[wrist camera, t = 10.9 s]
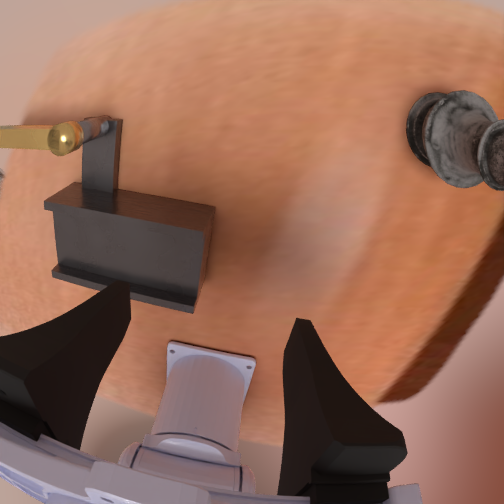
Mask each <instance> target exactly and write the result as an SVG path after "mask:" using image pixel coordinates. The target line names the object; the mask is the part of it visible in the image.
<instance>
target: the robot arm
mask: <svg viewBox="0 0 504 504" xmlns="http://www.w3.org/2000/svg"><path fill="white" fill-rule="evenodd" d="M130 320H131V305H130V283H127V282H123V281H119V280H116V281H115V282H113V283H112V284H110V285H109V286H107V287H106V288H104V289H103V290H101V291H100V292H99V293H97V294H96V295H94V296H93V297H91V298H90V299H88V300H87V301H85V302H83V303H82V304H80V305H78V306H77V307H75V308H73V309H72V310H70V311H68V312H67V313H65V314H63V315H61V316H59V317H57V318H55V319H53V320H51V321H49V322H46V323H44V324H41V325H39V326H36V327H33V328H31V329H28V330H25V331H21V332H18V333H14V334H10V335H6V336H1V337H0V477H1V478H3V479H4V480H6V481H7V482H9V483H10V484H12V485H13V486H15V487H17V488H18V489H20V490H22V491H23V492H25V493H26V494H28V495H30V496H32V497H33V498H35V499H37V500H39V501H41V502H42V503H44V504H423V503H422V497H421V492H420V487H419V484H417V483H415V484H407V485H399V486H394V487H391V488H388V487H387V482H389V481H390V474H389V472H390V471H391V470H393V469H394V468H395V467H396V466H397V465H399V464H400V463H401V462H402V461H403V460H404V459H405V457H406V455H407V449H406V444H405V439H404V436H403V433H402V432H401V431H400V430H399V429H398V428H396V427H394V426H393V425H392V424H391V423H389V422H388V421H386V420H385V419H384V418H382V417H381V416H380V415H379V414H378V413H377V412H375V411H374V410H373V409H372V408H371V407H370V406H369V405H368V404H367V403H366V402H365V401H364V400H363V399H362V398H361V397H360V396H359V395H358V394H357V393H356V392H355V390H354V389H353V388H352V387H351V386H350V384H349V383H348V382H347V381H346V380H345V378H344V377H343V376H342V374H341V373H340V371H339V370H338V368H337V367H336V365H335V364H334V362H333V361H332V359H331V357H330V355H329V354H328V352H327V350H326V349H325V347H324V345H323V343H322V341H321V339H320V338H319V336H318V334H317V332H316V330H315V328H314V326H313V324H312V322H311V321H310V320H305V319H300V318H296V321H295V323H294V326H293V329H292V332H291V334H290V337H289V340H288V342H287V345H286V348H285V350H284V359H283V388H284V406H285V430H284V444H283V454H282V464H281V473H280V480H279V486H278V494H277V495H265V494H255V476H254V473H253V472H252V471H251V470H250V468H249V467H248V466H247V465H240V461H241V453H238V452H237V451H238V442H239V433H240V424H241V414H242V406H243V403H244V400H245V397H246V394H247V390H248V387H249V384H250V381H251V378H252V375H253V372H254V369H255V366H256V360H255V359H254V358H251V357H246V356H240V355H235V354H230V353H225V352H220V351H215V350H210V349H205V348H201V347H196V346H191V345H187V344H183V343H178V342H174V341H171V342H169V343H168V346H167V383H166V386H165V389H164V392H163V396H162V399H161V402H160V405H159V408H158V411H157V415H156V418H155V421H154V424H153V428H152V431H151V434H148V433H146V434H145V437H144V440H143V443H142V444H141V443H138V442H134V443H132V444H131V445H130V446H128V447H126V448H125V449H124V451H123V453H122V454H121V456H120V459H119V462H118V464H117V463H113V462H110V461H107V460H104V459H101V458H98V457H95V456H93V455H90V454H88V453H85V452H82V451H80V447H81V442H82V438H83V434H84V430H85V427H86V423H87V419H88V416H89V413H90V410H91V407H92V404H93V401H94V398H95V395H96V392H97V390H98V387H99V384H100V382H101V380H102V378H103V375H104V373H105V372H106V370H107V368H108V366H109V364H110V362H111V360H112V359H113V357H114V355H115V353H116V351H117V349H118V348H119V346H120V344H121V342H122V340H123V338H124V336H125V333H126V331H127V328H128V326H129V323H130ZM173 350H174V351H173Z"/></svg>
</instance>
